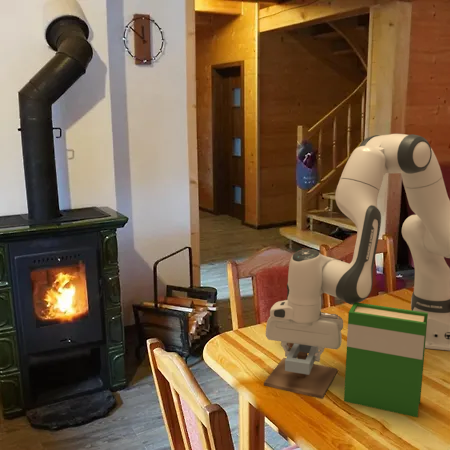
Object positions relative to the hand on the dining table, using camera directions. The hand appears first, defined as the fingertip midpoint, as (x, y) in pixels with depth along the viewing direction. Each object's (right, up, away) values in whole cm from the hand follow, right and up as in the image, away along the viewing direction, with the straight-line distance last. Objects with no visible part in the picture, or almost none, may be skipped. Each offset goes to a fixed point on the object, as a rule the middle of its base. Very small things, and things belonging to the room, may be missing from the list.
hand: (302, 358), depth 148 cm
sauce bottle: (0, -1, +22) cm, 22 cm away
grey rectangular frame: (0, -1, 0) cm, 1 cm away
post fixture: (0, -6, +1) cm, 6 cm away
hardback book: (+19, -9, -10) cm, 23 cm away
